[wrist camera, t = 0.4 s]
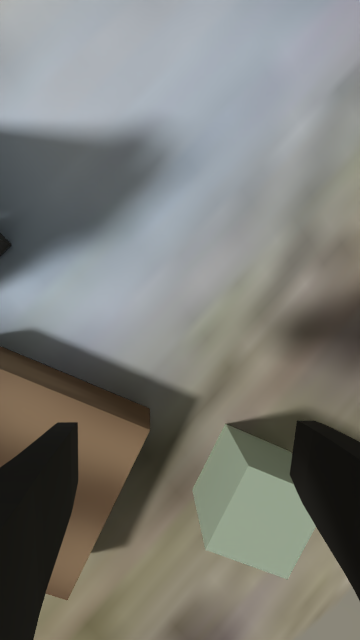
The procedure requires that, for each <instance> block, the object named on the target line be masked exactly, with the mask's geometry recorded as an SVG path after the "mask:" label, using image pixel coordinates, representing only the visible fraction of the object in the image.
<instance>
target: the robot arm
mask: <svg viewBox="0 0 360 640" xmlns="http://www.w3.org/2000/svg"><path fill="white" fill-rule="evenodd" d="M290 477H291V479H292V481H293V484H294V486H295V488H296V491H297V493H298V495H299V497H300V499H301V502H302V504H303V505H304V507H305V509H306V511H307V512H308V514H309V516H310V517H311V519H312V521H313V522H314V524H315V526H316V527H317V529H318V530H319V532H320V534H321V535H322V537H323V539H324V540H325V542H326V543H327V545H328V547H329V548H330V550H331V552H332V553H333V555H334V557H335V558H336V560H337V561H338V563H339V565H340V566H341V568H342V570H343V571H344V573H345V575H346V576H347V578H348V580H349V582H350V583H351V585H352V587H353V589H354V590H355V592H356V594H357V596H358V598H359V600H360V442H359V441H357V440H355V439H353V438H351V437H349V436H347V435H345V434H343V433H341V432H339V431H337V430H335V429H333V428H331V427H328V426H326V425H324V424H322V423H319V422H316V421H297V425H296V432H295V439H294V446H293V454H292V461H291V468H290ZM77 485H78V422H58V423H56V424H55V425H54V426H52V427H51V428H50V429H49V430H47V431H46V432H45V433H44V434H43V435H41V436H40V437H39V438H38V439H37V440H35V441H34V442H33V443H32V444H30V445H29V446H28V447H27V448H25V449H24V450H23V451H22V452H20V453H19V454H18V455H17V456H15V457H14V458H13V459H11V460H10V461H8V462H7V463H6V464H4V465H3V466H1V467H0V640H33V638H34V634H35V630H36V626H37V622H38V618H39V613H40V610H41V607H42V603H43V600H44V596H45V593H46V590H47V587H48V584H49V581H50V578H51V575H52V572H53V569H54V566H55V562H56V559H57V556H58V553H59V550H60V547H61V544H62V541H63V538H64V535H65V532H66V529H67V526H68V523H69V520H70V517H71V513H72V509H73V505H74V500H75V495H76V490H77Z"/></svg>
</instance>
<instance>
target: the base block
mask: <svg viewBox="0 0 360 640" xmlns="http://www.w3.org/2000/svg"><path fill="white" fill-rule="evenodd" d="M58 422H78V485H77V490H76V495H75V500H74V505H73V509H72V513H71V517H70V520H69V523H68V526H67V529H66V532H65V535H64V538H63V541H62V544H61V547H60V550H59V553H58V556H57V559H56V562H55V566H54V569H53V572H52V575H51V578H50V581H49V584H48V587H47V590H46V594H49V595H52V596H55V597H59V598H62V599H65V600H68V598H69V596H70V594H71V592H72V590H73V588H74V586H75V584H76V582H77V580H78V578H79V576H80V574H81V571H82V569H83V567H84V565H85V563H86V561H87V559H88V557H89V555H90V553H91V551H92V549H93V547H94V545H95V543H96V541H97V538H98V536H99V534H100V532H101V530H102V528H103V526H104V524H105V522H106V520H107V518H108V516H109V514H110V512H111V510H112V508H113V506H114V503H115V501H116V499H117V497H118V495H119V493H120V491H121V489H122V487H123V485H124V483H125V481H126V479H127V477H128V475H129V473H130V470H131V468H132V466H133V464H134V462H135V460H136V458H137V456H138V454H139V452H140V450H141V448H142V446H143V444H144V442H145V440H146V438H147V435H148V433H149V431H150V409H149V408H147V407H145V406H142V405H140V404H137V403H135V402H133V401H130V400H128V399H125V398H123V397H121V396H118V395H116V394H114V393H111V392H109V391H106V390H104V389H102V388H99V387H97V386H94V385H92V384H90V383H87V382H85V381H82V380H80V379H78V378H75V377H73V376H70V375H68V374H66V373H63V372H61V371H59V370H56V369H54V368H51V367H49V366H47V365H44V364H42V363H39V362H37V361H35V360H32V359H30V358H27V357H25V356H23V355H20V354H18V353H16V352H13V351H11V350H8V349H6V348H4V347H1V346H0V467H1V466H3V465H4V464H6V463H7V462H8V461H10V460H11V459H13V458H14V457H15V456H17V455H18V454H19V453H20V452H22V451H23V450H24V449H25V448H27V447H28V446H29V445H30V444H32V443H33V442H34V441H35V440H37V439H38V438H39V437H40V436H41V435H43V434H44V433H45V432H46V431H47V430H49V429H50V428H51V427H52V426H54V425H55V424H56V423H58Z"/></svg>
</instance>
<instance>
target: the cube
mask: <svg viewBox="0 0 360 640" xmlns="http://www.w3.org/2000/svg"><path fill="white" fill-rule="evenodd" d="M291 461H292V453H291V452H290V451H288V450H286V449H283V448H281V447H279V446H276V445H274V444H272V443H269V442H267V441H264V440H262V439H260V438H257V437H255V436H253V435H250V434H248V433H246V432H243V431H241V430H239V429H236V428H234V427H232V426H229V425H227V424H225V426H224V428H223V430H222V432H221V434H220V436H219V438H218V440H217V442H216V444H215V446H214V448H213V450H212V452H211V454H210V456H209V458H208V460H207V462H206V464H205V466H204V468H203V470H202V472H201V474H200V476H199V478H198V480H197V482H196V484H195V486H194V488H193V490H192V491H193V495H194V500H195V504H196V509H197V513H198V518H199V523H200V527H201V532H202V536H203V541H204V546H205V550H207V551H210V552H213V553H216V554H219V555H221V556H224V557H227V558H230V559H232V560H235V561H238V562H241V563H243V564H246V565H249V566H252V567H255V568H257V569H260V570H263V571H266V572H268V573H271V574H274V575H277V576H279V577H282V578H285V579H288V578H289V576H290V574H291V572H292V570H293V568H294V566H295V564H296V563H297V561H298V559H299V557H300V555H301V553H302V551H303V549H304V548H305V546H306V544H307V542H308V540H309V538H310V536H311V534H312V533H313V531H314V529H315V527H316V526H315V524H314V522H313V521H312V519H311V517H310V516H309V514H308V512H307V511H306V509H305V507H304V505H303V504H302V502H301V499H300V497H299V495H298V493H297V491H296V488H295V486H294V484H293V481H292V479H291V477H290V468H291Z"/></svg>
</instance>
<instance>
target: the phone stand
mask: <svg viewBox="0 0 360 640" xmlns="http://www.w3.org/2000/svg"><path fill="white" fill-rule="evenodd" d="M10 246H11V243H10V242H9V241H8V240H7V239H6V238H5V237H4V236H3V235H2V234H1V233H0V256H1V255H2V254H3V253H4V252H5V251H6V250H7V249H8V248H9V247H10Z"/></svg>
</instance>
